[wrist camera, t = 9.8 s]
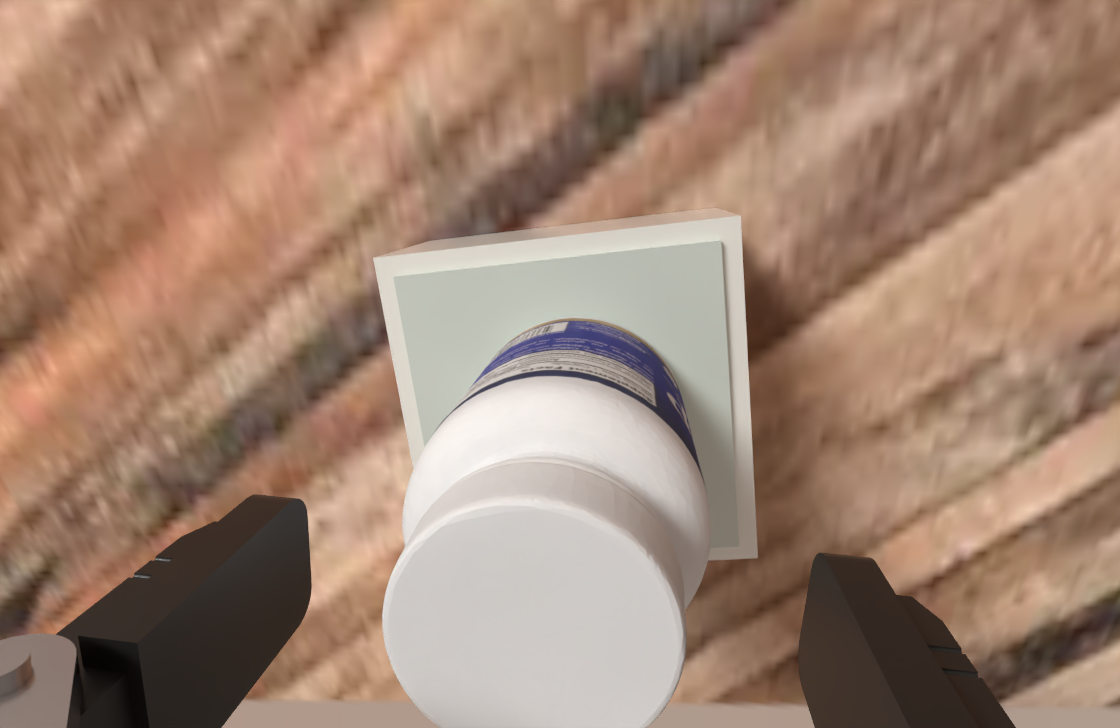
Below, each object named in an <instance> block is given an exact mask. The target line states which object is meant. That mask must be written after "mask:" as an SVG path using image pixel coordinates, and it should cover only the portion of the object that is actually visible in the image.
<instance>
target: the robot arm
mask: <svg viewBox="0 0 1120 728" xmlns="http://www.w3.org/2000/svg"><path fill="white" fill-rule="evenodd" d="M310 596H311V566H310V549H309V533H308V516H307V509H306V506H305V504H304V502H303V501H302V500H300V499H295V498H286V497H276V496H266V495H252V496H250V497H248V498H247V499H245V500H244V501H243V502H242V503H241V504H239V505H238V506H237V507H236V508H234V509H233V510H232V511H231V512H229V513H228V514H227V515H226V516H225V517H223V518H222V519H221V520H220V521H218V522H213V523H210V524H208V525H206V526H204V527H202V528H200V529H197V530H195V531H193V532H191V533H189V534H186V535H184V536H182V537H180V538H179V539H178V540H176V541H175V542H174V543H173V544H171V545H170V546H169V547H167V548H166V549H165V550H164V551H162V552H161V553H160V554H158V555H157V556H156V559H155V561H149V562H148V563H147V564H146V565H144V566H143V567H142V568H140V569H139V570H138V571H137V572H135V573H134V577H133V578H128V579H126V580H125V581H124V582H122V583H121V584H120V585H119V586H117V587H116V588H115V589H113V590H112V591H111V592H110V593H108V594H107V595H106V596H104V597H103V598H102V599H101V600H99V601H98V602H97V603H95V604H94V605H93V606H92V607H90V608H89V609H88V610H86V611H85V612H84V613H83V614H81V615H80V616H79V617H77V618H76V619H75V620H74V621H72V622H71V623H70V624H68V625H67V626H66V627H65V628H63V629H62V630H61V631H59V632H58V633H57V634H56V635H54V634H30V635H22V636H17V637H12V638H8V639H4V640H1V641H0V728H221V727H222V726H223V725H224V724H225V722H226V721H227V719H228V718H229V717H230V716H231V714H232V713H233V712H234V710H235V709H236V708H237V706H238V705H239V704H240V703H241V701H242V700H243V699H244V697H245V696H246V695H247V693H248V692H249V691H250V689H251V688H252V687H253V686H254V684H255V683H256V682H257V680H258V679H259V678H260V676H261V675H262V674H263V672H264V671H265V670H266V668H267V667H268V666H269V665H270V663H271V662H272V661H273V659H274V658H275V657H276V655H277V654H278V653H279V651H280V650H281V649H282V648H283V646H284V645H285V644H286V642H287V641H288V640H289V638H290V637H291V636H292V634H293V633H294V632H295V631H296V629H297V628H298V627H299V625H300V624H301V622H302V620H303V618H304V616H305V614H306V611H307V608H308V605H309V601H310ZM798 662H799V674H800V680H801V685H802V689H803V692H804V695H805V698H806V701H807V704H808V707H809V711H810V714H811V717H812V720H813V723H814V726H815V728H1016V727H1015V726H1014V724H1013V723H1012V721H1011V720H1010V719H1009V717H1008V716H1007V714H1006V713H1005V711H1004V710H1003V708H1002V707H1001V705H1000V704H999V703H998V701H997V700H996V698H995V697H994V695H993V694H992V692H991V691H990V690H989V688H988V687H987V685H986V684H985V682H984V681H983V679H982V678H978V675H977V673H978V672H977V671H976V669H975V668H974V666H973V665H972V663H971V662H970V660H969V659H968V658H967V656H966V655H965V654H962V652H961V647H960V646H959V645H958V643H957V642H956V640H955V639H954V637H953V636H952V634H951V633H950V631H949V630H948V629H947V627H946V626H945V624H944V623H943V621H941V620H940V619H939V618H938V617H936V616H935V615H934V614H933V613H931V612H930V611H929V610H928V609H926V608H925V607H924V606H923V605H921V604H920V603H919V602H917V601H916V600H915V599H914V598H912V597H909V596H900V595H896V594H895V592H894V591H893V589H892V588H891V586H890V584H889V583H888V581H887V579H886V578H885V576H884V575H883V573H882V571H881V570H880V568H879V567H878V565H877V563H876V562H875V561H874V560H873V559H872V558H867V557H857V556H847V555H837V554H827V553H818V554H817V555H816V557H815V559H814V561H813V565H812V570H811V575H810V581H809V587H808V593H807V599H806V605H805V611H804V616H803V622H802V628H801V634H800V640H799V651H798Z"/></svg>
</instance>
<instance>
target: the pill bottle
mask: <svg viewBox="0 0 1120 728" xmlns="http://www.w3.org/2000/svg"><path fill="white" fill-rule="evenodd" d="M402 523H403V538H404V543H405V548H404V550H403V552H402V554H401V556H400V558H399V559H398V561H397V563H396V565H395V567H394V570H393V572H392V574H391V577H390V580H389V583H388V586H387V589H386V594H385V599H384V604H383V614H382V619H383V635H384V640H385V647H386V650H387V653H388V657H389V659H390V662H391V665H392V668H393V670H394V672H395V674H396V676H397V678H398V680H399V682H400V684H401V686H402V687H403V689H404V690H405V692H406V693H407V695H408V696H409V697H410V699H411V700H412V701H413V703H414V704H415V705H416V706H417V707H418V708H419V709H420V710H421V712H422V713H423V714H424V715H425V716H426V717H427V718H429V719H430V720H431V721H432V722H433V723H435V724H436V725H437V726H438V727H440V728H647V727H648V726H649V725H650V724H652V723H653V722H654V721H655V720H656V718H657V717H658V716H659V715H660V714H661V712H662V711H663V710H664V709H665V707H666V705H667V704H668V702H669V701H670V699H671V697H672V695H673V693H674V691H675V689H676V687H677V685H678V682H679V679H680V677H681V674H682V669H683V665H684V661H685V656H686V644H687V631H686V617H685V610H686V608H687V607H688V606H689V604H690V603H691V601H692V599H693V597H694V596H695V594H696V592H697V590H698V588H699V586H700V584H701V581H702V578H703V576H704V573H705V570H706V566H707V562H708V558H709V552H710V544H711V518H710V507H709V503H708V497H707V492H706V488H705V483H704V479H703V475H702V472H701V468H700V465H699V461H698V457H697V453H696V449H695V445H694V442H693V437H692V434H691V430H690V426H689V422H688V418H687V414H686V411H685V407H684V403H683V399H682V396H681V393H680V389H679V387H678V384H677V382H676V379H675V377H674V375H673V373H672V371H671V369H670V368H669V366H668V365H667V363H666V362H665V360H664V359H663V357H662V356H661V355H660V354H659V353H658V352H657V351H656V350H655V349H654V348H653V347H652V346H651V345H650V344H649V343H648V342H647V341H646V340H644V339H643V338H642V337H640V336H639V335H637V334H636V333H634V332H632V331H631V330H629V329H627V328H625V327H623V326H620V325H618V324H616V323H613V322H610V321H606V320H603V319H599V318H592V317H580V316H574V317H562V318H557V319H552V320H548V321H544V322H542V323H539V324H536V325H534V326H532V327H530V328H528V329H526V330H524V331H523V332H521V333H519V334H518V335H516V336H515V337H514V338H512V339H511V340H510V341H509V342H507V343H506V344H505V345H504V346H503V347H502V348H501V349H500V350H499V351H498V353H497V354H496V355H495V356H494V357H493V358H492V360H491V361H490V362H489V364H488V365H487V366H486V368H485V369H484V370H483V372H482V373H481V375H480V376H479V377H478V378H477V380H476V381H475V382H474V384H473V385H472V386H471V387H470V389H469V390H468V391H467V393H466V394H465V395H464V396H463V397H462V398H461V400H460V401H459V402H458V403H457V405H456V406H455V407H454V408H453V409H452V411H451V412H450V413H449V414H448V416H447V417H446V418H445V419H444V420H443V421H442V423H441V424H440V425H439V426H438V428H437V429H436V431H435V432H434V434H433V435H432V437H431V438H430V440H429V441H428V443H427V444H426V446H425V447H424V449H423V451H422V453H421V455H420V457H419V459H418V461H417V463H416V465H415V468H414V470H413V472H412V475H411V477H410V481H409V484H408V487H407V491H406V496H405V501H404V507H403V521H402Z"/></svg>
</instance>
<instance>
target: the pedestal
mask: <svg viewBox="0 0 1120 728" xmlns="http://www.w3.org/2000/svg"><path fill="white" fill-rule="evenodd" d="M373 259H374V264H375V270H376V275H377V280H378V286H379V291H380V296H381V301H382V307H383V312H384V317H385V322H386V328H387V333H388V338H389V343H390V349H391V354H392V359H393V365H394V370H395V375H396V380H397V386H398V391H399V396H400V401H401V407H402V412H403V417H404V423H405V428H406V433H407V438H408V444H409V449H410V454H411V459H412V465H413V470H414V468H415V465H416V463H417V461H418V459H419V457H420V455H421V453H422V451H423V449H424V447H425V446H426V444H427V443H428V441H429V440H430V438H431V437H432V435H433V434H434V432H435V431H436V429H437V428H438V426H439V425H440V424H441V423H442V421H443V420H444V419H445V418H446V417H447V416H448V414H449V413H450V412H451V411H452V409H453V408H454V407H455V406H456V405H457V403H458V402H459V401H460V400H461V398H462V397H463V396H464V395H465V394H466V393H467V391H468V390H469V389H470V387H471V386H472V385H473V384H474V382H475V381H476V380H477V378H478V377H479V376H480V375H481V373H482V372H483V370H484V369H485V368H486V366H487V365H488V364H489V362H490V361H491V360H492V358H493V357H494V356H495V355H496V354H497V353H498V351H499V350H500V349H501V348H502V347H503V346H504V345H505V344H506V343H507V342H509V341H510V340H511V339H512V338H514V337H515V336H516V335H518V334H519V333H521V332H523V331H524V330H526V329H528V328H530V327H532V326H534V325H536V324H539V323H542V322H544V321H548V320H552V319H557V318H562V317H574V316H580V317H592V318H599V319H603V320H606V321H610V322H613V323H616V324H618V325H620V326H623V327H625V328H627V329H629V330H631V331H632V332H634V333H636V334H637V335H639V336H640V337H642V338H643V339H644V340H646V341H647V342H648V343H649V344H650V345H651V346H652V347H653V348H654V349H655V350H656V351H657V352H658V353H659V354H660V355H661V356H662V357H663V359H664V360H665V362H666V363H667V365H668V366H669V368H670V369H671V371H672V373H673V375H674V377H675V379H676V382H677V384H678V387H679V389H680V393H681V396H682V399H683V403H684V407H685V411H686V414H687V418H688V422H689V426H690V430H691V434H692V437H693V442H694V445H695V449H696V453H697V457H698V461H699V465H700V468H701V472H702V475H703V479H704V483H705V488H706V492H707V497H708V503H709V507H710V518H711V544H710V552H709V558H708V561H711V560H731V559H751V558H758V548H757V528H756V509H755V489H754V469H753V449H752V430H751V410H750V390H749V370H748V351H747V331H746V311H745V292H744V272H743V252H742V232H741V216H740V215H737V214H734V213H731V212H727V211H724V210H721V209H718V208H715V207H714V208H706V209H697V210H689V211H680V212H672V213H663V214H655V215H646V216H638V217H629V218H621V219H612V220H604V221H595V222H587V223H578V224H570V225H561V226H553V227H544V228H536V229H527V230H519V231H510V232H502V233H493V234H485V235H476V236H468V237H459V238H451V239H442V240H434V241H428V242H425V243H422V244H418V245H415V246H412V247H408V248H405V249H402V250H398V251H395V252H392V253H388V254H385V255H382V256H378V257H375V258H373Z"/></svg>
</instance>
